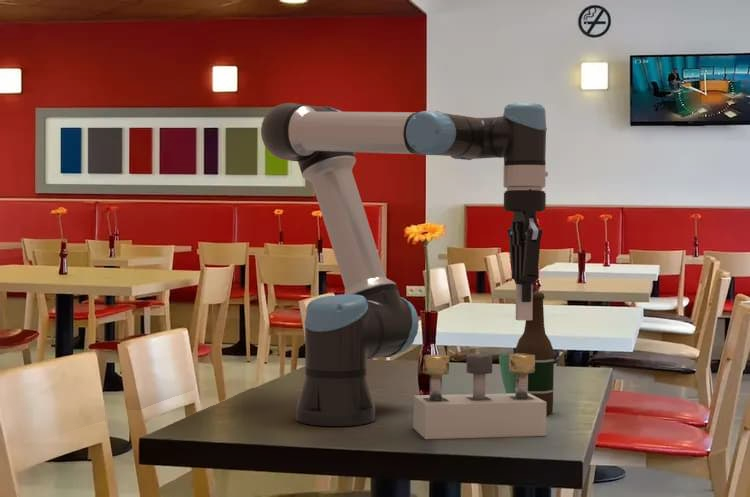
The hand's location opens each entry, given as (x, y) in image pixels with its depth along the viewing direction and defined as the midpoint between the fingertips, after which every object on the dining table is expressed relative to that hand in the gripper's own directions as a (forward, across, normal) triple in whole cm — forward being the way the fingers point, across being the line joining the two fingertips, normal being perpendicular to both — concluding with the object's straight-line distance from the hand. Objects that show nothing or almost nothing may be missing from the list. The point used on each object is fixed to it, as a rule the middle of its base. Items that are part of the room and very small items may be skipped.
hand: (524, 319), depth 196 cm
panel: (+20, 0, +8) cm, 22 cm away
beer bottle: (+20, +17, -8) cm, 28 cm away
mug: (+20, +28, -10) cm, 36 cm away
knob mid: (+14, 0, +8) cm, 17 cm away
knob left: (+14, 0, +16) cm, 22 cm away
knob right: (+14, 0, 0) cm, 14 cm away
